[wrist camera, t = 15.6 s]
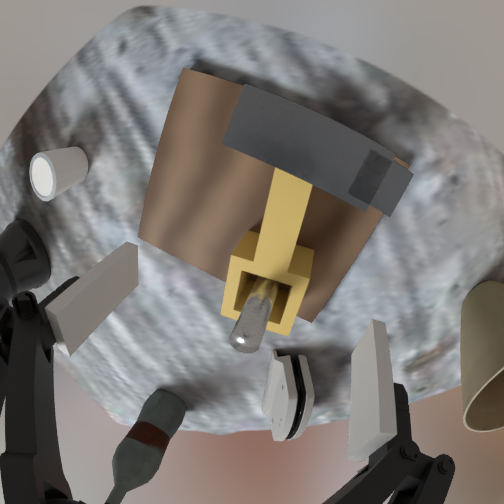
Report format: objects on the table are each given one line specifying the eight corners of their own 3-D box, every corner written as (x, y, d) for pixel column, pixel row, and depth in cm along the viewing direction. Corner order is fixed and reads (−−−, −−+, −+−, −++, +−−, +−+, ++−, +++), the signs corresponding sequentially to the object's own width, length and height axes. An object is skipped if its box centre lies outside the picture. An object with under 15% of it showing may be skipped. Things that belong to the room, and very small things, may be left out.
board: (143, 232, 38) (137, 237, 37) (189, 69, 27) (183, 67, 26) (312, 315, 37) (311, 322, 36) (406, 162, 26) (409, 165, 25)
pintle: (262, 264, 36) (225, 344, 23) (271, 247, 34) (235, 325, 22) (281, 273, 35) (252, 357, 23) (290, 257, 34) (264, 339, 22)
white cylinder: (86, 137, 34) (49, 147, 28) (95, 183, 37) (60, 199, 31) (59, 147, 36) (25, 158, 30) (67, 189, 39) (35, 204, 33)
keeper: (266, 131, 28) (221, 144, 17) (281, 96, 26) (244, 83, 15) (363, 177, 28) (385, 223, 16) (380, 144, 26) (417, 167, 14)
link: (271, 121, 26) (256, 123, 21) (347, 141, 25) (351, 148, 20) (236, 284, 36) (220, 314, 31) (295, 303, 35) (288, 336, 30)
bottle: (187, 417, 59) (134, 521, 33) (151, 401, 60) (93, 499, 34) (190, 400, 55) (129, 518, 29) (151, 382, 55) (82, 492, 30)
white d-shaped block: (272, 348, 41) (284, 404, 33) (303, 346, 42) (320, 400, 33) (261, 406, 49) (267, 452, 41) (286, 404, 50) (295, 449, 41)
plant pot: (515, 233, 25) (584, 307, 11) (524, 314, 28) (565, 390, 14) (422, 287, 31) (456, 389, 18) (446, 357, 35) (467, 446, 21)
